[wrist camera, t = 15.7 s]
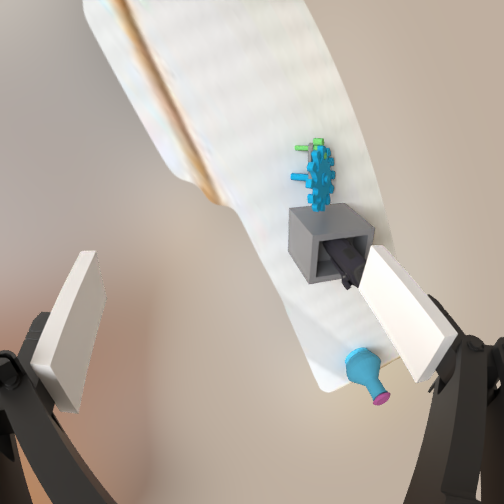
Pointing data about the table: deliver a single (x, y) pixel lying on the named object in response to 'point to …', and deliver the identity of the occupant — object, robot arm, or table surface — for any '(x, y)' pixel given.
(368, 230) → the charging dock
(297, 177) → the gear
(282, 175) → the table surface
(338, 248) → the two-way radio
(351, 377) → the perfume bottle
